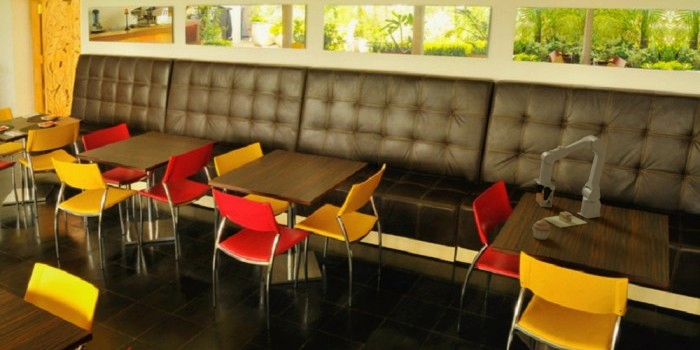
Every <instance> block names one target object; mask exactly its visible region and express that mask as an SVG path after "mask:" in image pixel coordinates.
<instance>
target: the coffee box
mask: <svg viewBox="0 0 700 350" xmlns="http://www.w3.org/2000/svg"><path fill="white" fill-rule="evenodd" d="M550 183H551V184H553V185H554V186H555V187H556V179H555V178H554V176H552V175H551V180H550ZM544 188H546V187H545V186H544ZM542 192H543V193H544V191H542ZM554 193H555V190H553V191H552V192H551V193H550V195H549V198H548V202H545V203H540V202H538V201H536V203H538V205H539V206H540V207H542V208H552V206H553V202H554V201H553V200H554Z"/></svg>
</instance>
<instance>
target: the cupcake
mask: <svg viewBox="0 0 700 350" xmlns="http://www.w3.org/2000/svg"><path fill="white" fill-rule="evenodd" d="M531 229H532V231H533V232H532V235H533V238H534V239H536V240H539V241H540V240H541V241H546V240H547V239H548V237H549V235H550V234H551V232H552V228H551V226H550V224H549V222H548V221H547V220H545V219H543V218H542V219H540V220H537V221H536V222H535V223H533V226H531Z"/></svg>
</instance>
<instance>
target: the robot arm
mask: <svg viewBox="0 0 700 350" xmlns="http://www.w3.org/2000/svg"><path fill="white" fill-rule="evenodd" d="M579 149H588V150H591V151H592V152H593V153H594V158H593V161H592V165H591V170H590V173H589V177H588V180H587V182H586V183H585V185H584V186H583V187H582V189H581V194H582V203H581V209H580V211H579V212H577V213H576V214H577V215H579V216H581V217H583V218H586V219H591V218H592V219H593V218H600V217H601V215H600V212H601V209H602V208H601V206H602V204H601V203H602V202H601V201H600V198H601V193H600V192H601V187H600V182H601V177H602V174H603V173H602V172H603V168H604V165H605V161H606V157H607V149H606V143H605V142H604V141H603V140H602V139H601V138H599V137H597V136H595V135H592V134H590V135H587V136H583V137H582V138H581V139H580V140H577V141H575V142H573V143H571V144H569V145H567V146H563V145H558V146H557V147H556V148H554V149H550V150H549V151H544V152H542V153H541V155H540V156H539V159H540V161H541V164H540V170H539V171H540V172H539V178H537V177H536V178H534V179H533V183H535V184H534V187H535V190H536V194H537V193H542V191H544V200H548V197H549V195H550V193H551V192H552V191H553V190H554V191H555V190H556V185H555V186H554V185H553V184H551V183H550V180H551V176H552V173H553V172H552V171H553V165H554V163H555V162H556V161H558V160H561V159H563V158H565V157H567V156H568V155H569V153H572V152H575V151H578V150H579ZM544 186H545V187H546V188H544Z"/></svg>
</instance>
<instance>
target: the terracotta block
mask: <svg viewBox="0 0 700 350" xmlns="http://www.w3.org/2000/svg"><path fill="white" fill-rule="evenodd" d="M548 198H549V197H548ZM535 201H536V202H537V201H538V202H540V203H545V202H548V200H544V193H543V192H542V193H537V192H536V194H535ZM538 202H537V203H538Z"/></svg>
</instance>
